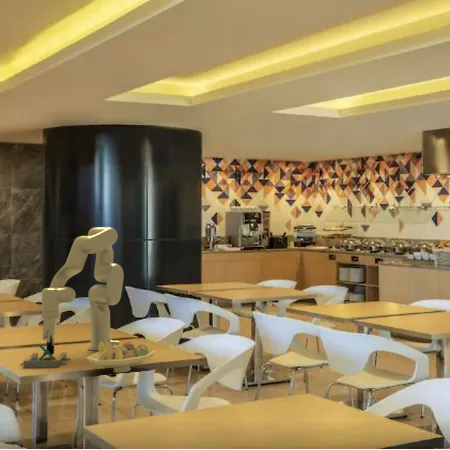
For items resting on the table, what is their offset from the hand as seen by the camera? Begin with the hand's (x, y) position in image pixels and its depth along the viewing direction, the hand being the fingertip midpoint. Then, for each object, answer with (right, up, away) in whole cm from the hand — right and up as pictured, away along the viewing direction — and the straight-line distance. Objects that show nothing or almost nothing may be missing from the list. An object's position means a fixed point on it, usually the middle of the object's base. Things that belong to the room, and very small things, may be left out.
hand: (50, 354), depth 349 cm
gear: (0, -2, -7) cm, 8 cm away
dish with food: (+38, -2, -34) cm, 51 cm away
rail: (+1, -1, -13) cm, 13 cm away
